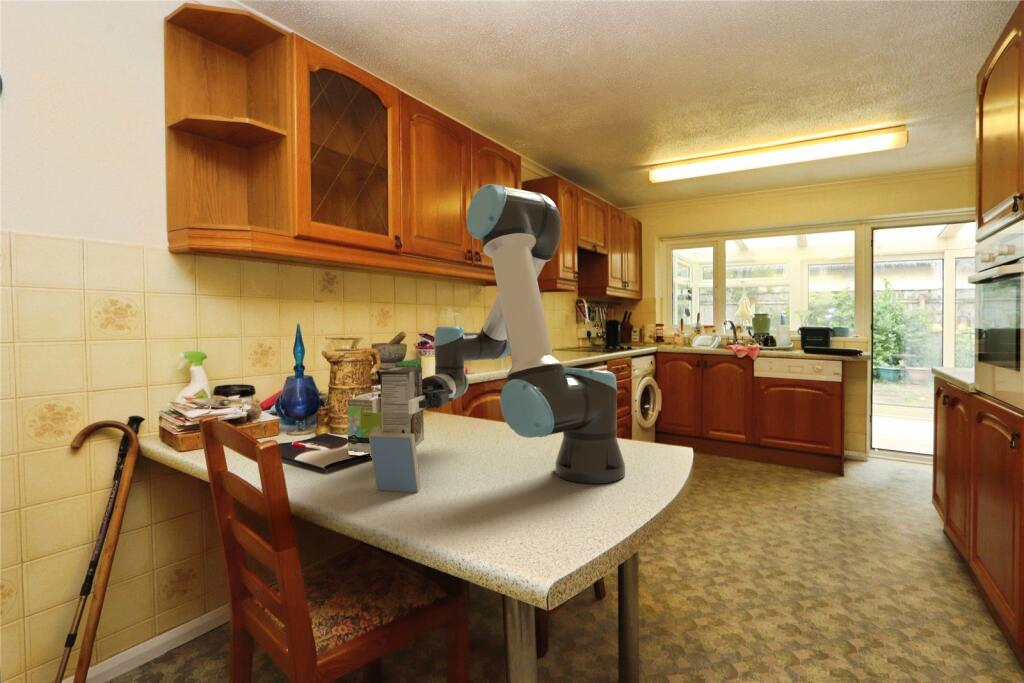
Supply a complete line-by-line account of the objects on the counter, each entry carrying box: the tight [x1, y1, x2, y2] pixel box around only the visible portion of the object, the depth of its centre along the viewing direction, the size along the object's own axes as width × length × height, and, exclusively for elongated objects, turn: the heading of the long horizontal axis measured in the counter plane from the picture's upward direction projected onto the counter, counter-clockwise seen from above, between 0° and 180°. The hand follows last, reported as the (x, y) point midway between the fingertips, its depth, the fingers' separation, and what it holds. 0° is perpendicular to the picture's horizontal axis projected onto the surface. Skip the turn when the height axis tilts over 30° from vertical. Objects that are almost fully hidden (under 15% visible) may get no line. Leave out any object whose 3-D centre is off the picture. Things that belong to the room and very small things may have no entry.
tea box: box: [347, 391, 382, 458], centre depth 129 cm, size 15×10×15 cm, turn 168°
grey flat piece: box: [369, 432, 422, 493], centre depth 96 cm, size 9×2×12 cm, turn 77°
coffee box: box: [379, 366, 425, 448], centre depth 101 cm, size 9×6×16 cm
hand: (392, 406), depth 96 cm, fingers closed on coffee box, 7 cm apart
